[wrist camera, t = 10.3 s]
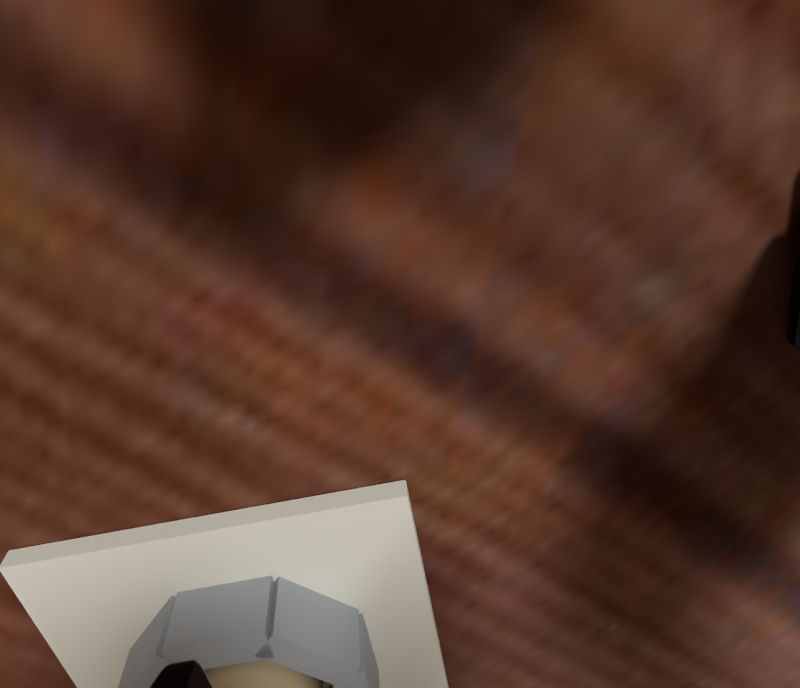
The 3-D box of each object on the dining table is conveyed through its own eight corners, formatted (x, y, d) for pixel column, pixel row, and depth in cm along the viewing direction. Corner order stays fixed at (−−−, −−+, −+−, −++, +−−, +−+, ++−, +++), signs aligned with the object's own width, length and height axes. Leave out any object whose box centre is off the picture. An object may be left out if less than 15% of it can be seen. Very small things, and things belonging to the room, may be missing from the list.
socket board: (405, 479, 23) (414, 549, 20) (454, 716, 30) (466, 792, 27) (8, 550, 23) (-37, 629, 21) (148, 769, 30) (128, 850, 27)
